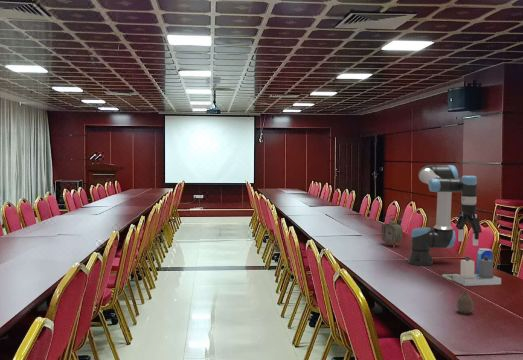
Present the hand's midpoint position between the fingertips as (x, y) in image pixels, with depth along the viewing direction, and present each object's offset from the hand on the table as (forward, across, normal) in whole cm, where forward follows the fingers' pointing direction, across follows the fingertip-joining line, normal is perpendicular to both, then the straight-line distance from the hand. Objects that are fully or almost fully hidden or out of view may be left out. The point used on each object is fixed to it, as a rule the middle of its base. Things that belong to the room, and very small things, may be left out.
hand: (468, 243), depth 266 cm
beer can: (+23, -14, +20) cm, 33 cm away
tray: (+22, -11, -1) cm, 25 cm away
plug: (+22, 0, 0) cm, 22 cm away
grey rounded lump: (+22, +46, -30) cm, 59 cm away
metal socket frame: (+22, 0, +6) cm, 23 cm away
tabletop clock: (+23, -117, +10) cm, 120 cm away
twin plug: (+22, 0, +11) cm, 24 cm away
